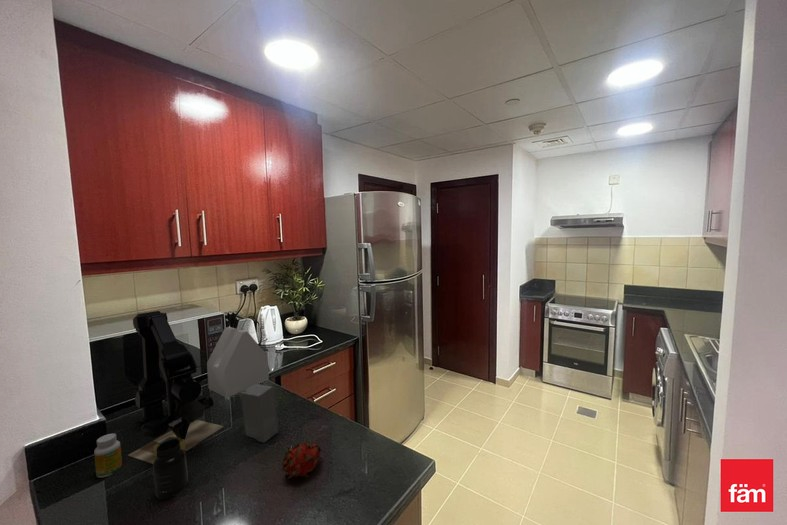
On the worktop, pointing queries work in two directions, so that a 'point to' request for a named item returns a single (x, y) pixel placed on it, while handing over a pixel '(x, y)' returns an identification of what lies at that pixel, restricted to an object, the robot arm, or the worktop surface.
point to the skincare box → (259, 412)
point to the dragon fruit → (301, 459)
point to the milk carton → (236, 363)
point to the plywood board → (194, 436)
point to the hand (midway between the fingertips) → (182, 441)
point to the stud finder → (182, 443)
